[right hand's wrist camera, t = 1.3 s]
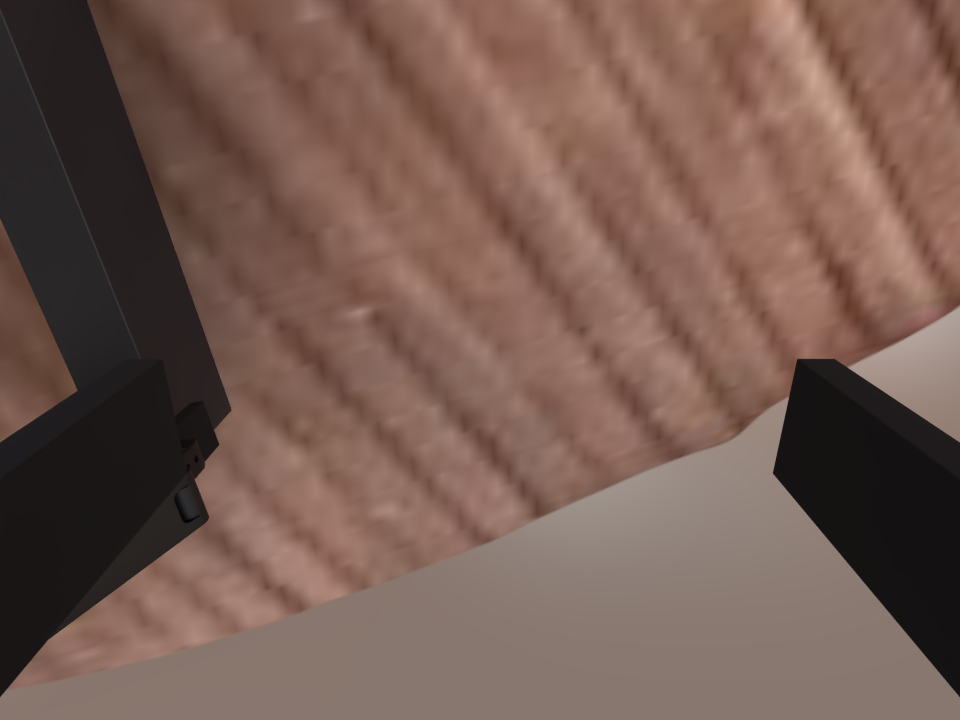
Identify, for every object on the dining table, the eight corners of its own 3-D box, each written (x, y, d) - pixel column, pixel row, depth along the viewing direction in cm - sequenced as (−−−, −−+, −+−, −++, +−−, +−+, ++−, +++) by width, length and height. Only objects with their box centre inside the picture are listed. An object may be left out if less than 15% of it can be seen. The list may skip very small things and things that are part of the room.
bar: (11, 3, 36) (-113, -32, 28) (82, -12, 36) (-24, -51, 28) (175, 419, 46) (115, 475, 38) (232, 410, 46) (183, 465, 38)
